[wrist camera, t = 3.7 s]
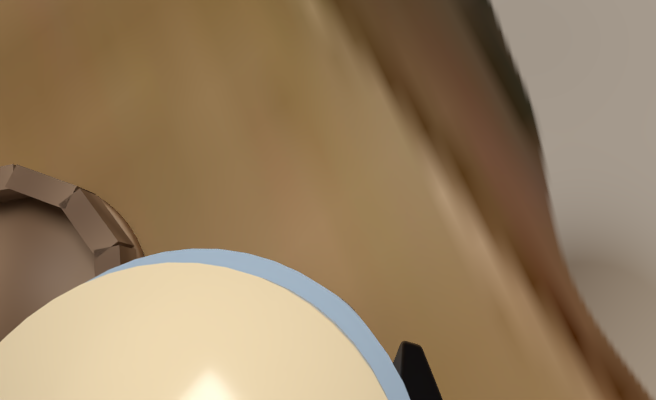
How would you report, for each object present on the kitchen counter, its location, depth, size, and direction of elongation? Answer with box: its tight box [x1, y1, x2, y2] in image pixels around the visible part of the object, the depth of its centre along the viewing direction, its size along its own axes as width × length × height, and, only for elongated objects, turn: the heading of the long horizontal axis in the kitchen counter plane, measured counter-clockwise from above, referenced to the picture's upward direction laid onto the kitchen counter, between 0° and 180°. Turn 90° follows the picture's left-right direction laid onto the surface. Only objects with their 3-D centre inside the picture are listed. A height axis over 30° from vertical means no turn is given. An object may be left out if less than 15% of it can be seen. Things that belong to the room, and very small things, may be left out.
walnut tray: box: [0, 164, 144, 342], centre depth 16 cm, size 10×10×2 cm
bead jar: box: [0, 249, 410, 400], centre depth 10 cm, size 5×5×13 cm
